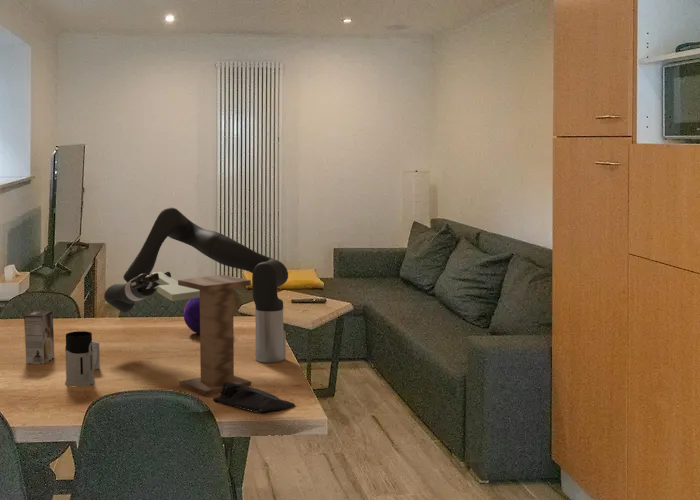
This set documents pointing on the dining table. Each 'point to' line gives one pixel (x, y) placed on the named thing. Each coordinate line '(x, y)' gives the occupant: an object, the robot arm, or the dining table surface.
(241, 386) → the black folded cloth
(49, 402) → the dining table surface
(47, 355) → the coffee box
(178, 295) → the paddle board
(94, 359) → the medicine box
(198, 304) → the decorative orb
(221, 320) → the walnut stand
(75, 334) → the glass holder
